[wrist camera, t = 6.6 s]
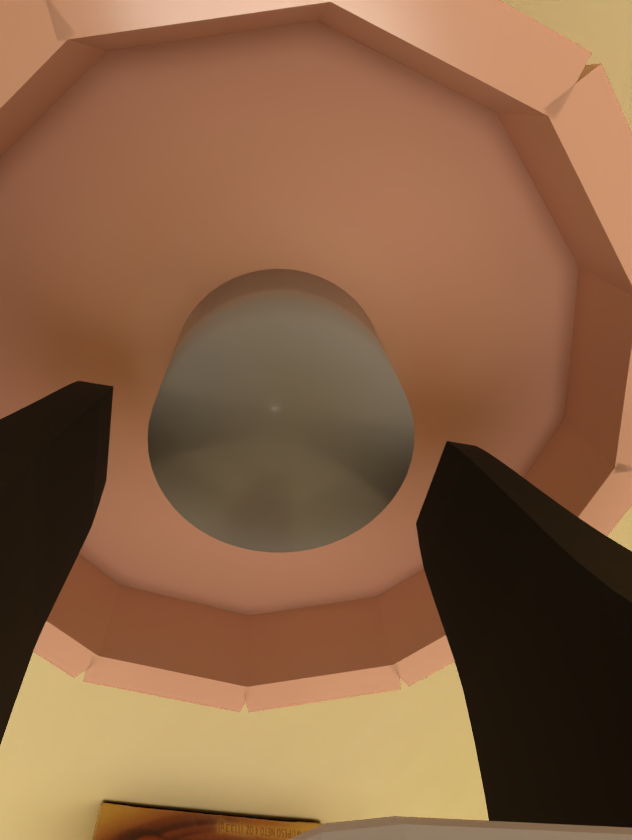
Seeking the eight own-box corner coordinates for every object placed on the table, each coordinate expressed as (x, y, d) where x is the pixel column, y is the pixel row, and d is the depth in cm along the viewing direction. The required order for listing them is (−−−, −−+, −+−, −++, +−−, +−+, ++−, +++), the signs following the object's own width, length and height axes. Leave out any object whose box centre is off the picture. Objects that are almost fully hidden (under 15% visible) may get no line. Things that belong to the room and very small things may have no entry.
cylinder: (129, 357, 13) (88, 433, 10) (298, 221, 12) (308, 262, 9) (264, 492, 15) (264, 589, 12) (420, 385, 14) (462, 464, 11)
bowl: (-238, 329, 13) (-374, 390, 10) (348, -280, 9) (383, -440, 7) (240, 686, 20) (235, 781, 17) (693, 415, 16) (782, 481, 13)
